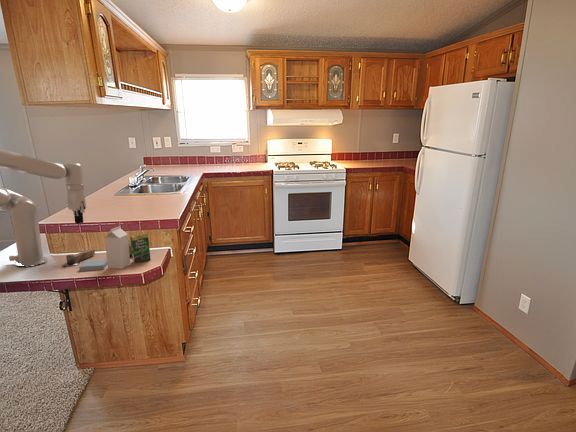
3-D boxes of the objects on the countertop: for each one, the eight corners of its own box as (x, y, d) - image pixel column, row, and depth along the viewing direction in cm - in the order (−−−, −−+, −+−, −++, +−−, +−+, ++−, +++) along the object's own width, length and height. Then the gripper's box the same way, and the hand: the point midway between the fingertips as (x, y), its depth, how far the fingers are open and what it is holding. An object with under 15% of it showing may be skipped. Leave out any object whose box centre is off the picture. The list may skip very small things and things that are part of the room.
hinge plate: (60, 267, 159) (60, 266, 159) (65, 262, 165) (65, 262, 165) (76, 266, 160) (76, 265, 160) (81, 261, 167) (81, 261, 167)
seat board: (79, 271, 154) (79, 266, 154) (86, 264, 163) (85, 260, 162) (103, 269, 157) (103, 265, 156) (108, 262, 165) (108, 259, 165)
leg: (71, 264, 161) (70, 256, 160) (65, 264, 162) (64, 256, 161) (95, 254, 176) (94, 247, 175) (90, 254, 177) (89, 247, 176)
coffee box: (133, 263, 165) (131, 237, 163) (132, 261, 167) (130, 236, 165) (150, 260, 170) (148, 235, 167) (149, 258, 172) (147, 233, 170)
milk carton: (130, 264, 164) (127, 226, 160) (122, 269, 157) (118, 229, 153) (116, 263, 165) (113, 225, 161) (107, 268, 158) (103, 229, 154)
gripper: (60, 187, 172) (64, 222, 176) (74, 189, 164) (78, 226, 168) (75, 186, 178) (79, 220, 182) (90, 188, 170) (94, 223, 174)
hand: (79, 222), depth 175 cm, fingers closed
